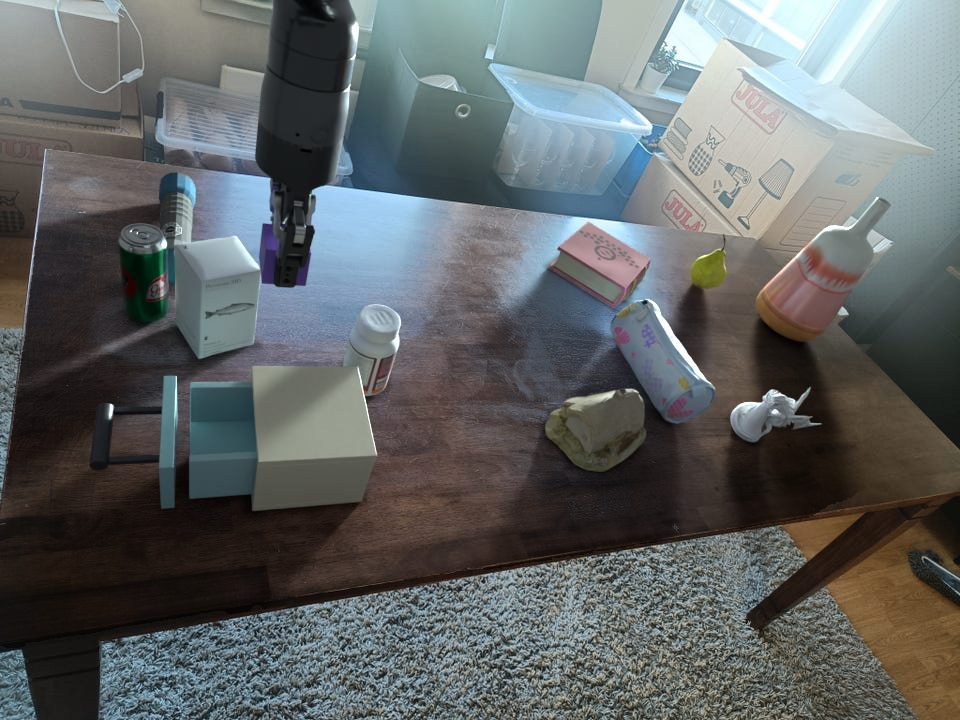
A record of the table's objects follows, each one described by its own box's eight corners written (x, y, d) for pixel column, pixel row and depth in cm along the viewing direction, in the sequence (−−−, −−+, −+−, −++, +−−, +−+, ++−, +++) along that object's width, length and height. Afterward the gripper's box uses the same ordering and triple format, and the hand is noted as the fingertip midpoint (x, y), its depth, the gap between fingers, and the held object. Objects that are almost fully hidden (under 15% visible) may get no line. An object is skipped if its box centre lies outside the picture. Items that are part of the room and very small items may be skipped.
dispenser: (252, 511, 66) (258, 462, 60) (246, 417, 74) (251, 365, 68) (361, 501, 70) (377, 455, 65) (345, 414, 78) (358, 366, 73)
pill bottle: (383, 364, 86) (401, 302, 79) (389, 398, 82) (409, 337, 75) (337, 362, 84) (352, 298, 77) (342, 397, 80) (357, 333, 73)
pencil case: (599, 333, 108) (625, 291, 101) (641, 335, 111) (668, 294, 105) (653, 430, 94) (686, 388, 88) (698, 429, 98) (733, 388, 92)
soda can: (155, 330, 78) (152, 252, 71) (115, 316, 78) (107, 237, 70) (176, 306, 82) (175, 230, 74) (138, 293, 82) (133, 216, 74)
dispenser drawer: (91, 514, 59) (83, 472, 55) (103, 420, 67) (97, 375, 62) (272, 500, 66) (278, 461, 62) (265, 415, 73) (270, 375, 69)
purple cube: (261, 283, 66) (265, 249, 63) (258, 257, 69) (262, 222, 66) (305, 286, 68) (311, 252, 65) (301, 260, 71) (306, 227, 68)
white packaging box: (198, 361, 77) (199, 282, 69) (174, 322, 80) (172, 241, 72) (255, 346, 82) (263, 270, 73) (231, 310, 85) (235, 232, 77)
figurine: (718, 413, 102) (762, 362, 94) (752, 412, 105) (798, 363, 97) (754, 468, 95) (806, 419, 87) (790, 465, 98) (843, 417, 91)
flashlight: (195, 201, 99) (196, 173, 95) (194, 292, 85) (194, 263, 82) (160, 198, 97) (159, 169, 93) (152, 290, 83) (151, 260, 80)
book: (617, 311, 114) (630, 290, 111) (548, 267, 117) (558, 246, 114) (642, 281, 125) (654, 261, 121) (578, 242, 128) (588, 221, 124)
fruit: (719, 291, 132) (752, 244, 124) (705, 300, 127) (739, 252, 119) (692, 271, 134) (724, 225, 126) (678, 280, 130) (710, 232, 122)
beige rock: (578, 482, 82) (612, 436, 76) (532, 418, 88) (560, 370, 82) (649, 454, 90) (685, 410, 84) (602, 397, 96) (633, 352, 89)
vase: (750, 329, 125) (854, 201, 105) (747, 291, 136) (841, 169, 116) (817, 359, 124) (933, 236, 105) (809, 319, 135) (913, 201, 116)
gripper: (253, 79, 60) (241, 228, 71) (265, 157, 51) (249, 313, 62) (332, 94, 63) (309, 234, 74) (356, 169, 54) (326, 316, 65)
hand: (282, 269), depth 68 cm, fingers closed on purple cube, 4 cm apart
